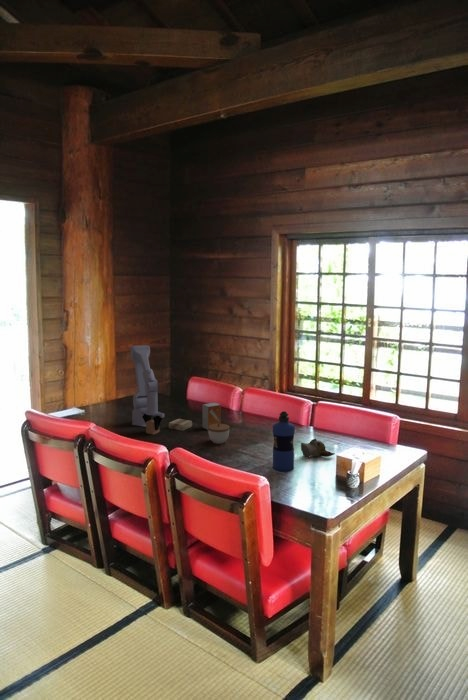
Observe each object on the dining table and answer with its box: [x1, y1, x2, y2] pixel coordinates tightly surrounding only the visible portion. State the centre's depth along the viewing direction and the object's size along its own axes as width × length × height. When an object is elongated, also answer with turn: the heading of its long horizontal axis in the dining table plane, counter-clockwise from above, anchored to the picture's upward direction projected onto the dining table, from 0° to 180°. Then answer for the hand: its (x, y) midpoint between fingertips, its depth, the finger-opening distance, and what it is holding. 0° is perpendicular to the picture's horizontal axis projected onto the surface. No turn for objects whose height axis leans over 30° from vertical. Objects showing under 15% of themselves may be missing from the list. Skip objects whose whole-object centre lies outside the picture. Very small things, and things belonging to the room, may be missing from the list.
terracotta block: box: [145, 419, 161, 435], centre depth 279 cm, size 5×5×6 cm
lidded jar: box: [207, 423, 230, 445], centre depth 263 cm, size 11×11×9 cm
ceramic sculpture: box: [300, 438, 335, 459], centre depth 243 cm, size 11×9×15 cm
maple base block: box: [168, 418, 193, 432], centre depth 288 cm, size 9×9×4 cm
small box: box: [201, 402, 222, 431], centre depth 287 cm, size 8×6×13 cm
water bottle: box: [272, 411, 296, 473], centre depth 227 cm, size 9×9×25 cm
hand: (152, 429), depth 279 cm, fingers closed on terracotta block, 5 cm apart
